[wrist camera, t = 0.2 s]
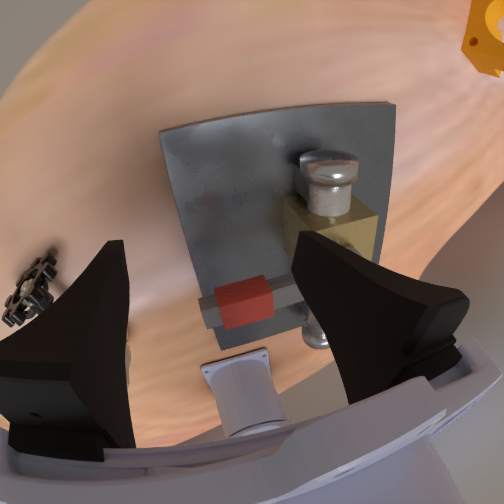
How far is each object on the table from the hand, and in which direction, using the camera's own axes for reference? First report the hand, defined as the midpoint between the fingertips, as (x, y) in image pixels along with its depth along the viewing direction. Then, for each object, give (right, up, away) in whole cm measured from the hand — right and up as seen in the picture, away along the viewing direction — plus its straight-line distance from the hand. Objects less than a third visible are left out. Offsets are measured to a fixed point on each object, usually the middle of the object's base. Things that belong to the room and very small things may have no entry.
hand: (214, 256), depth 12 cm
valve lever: (+3, -1, +7) cm, 8 cm away
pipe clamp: (+26, +26, +5) cm, 37 cm away
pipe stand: (+5, +1, +13) cm, 14 cm away
